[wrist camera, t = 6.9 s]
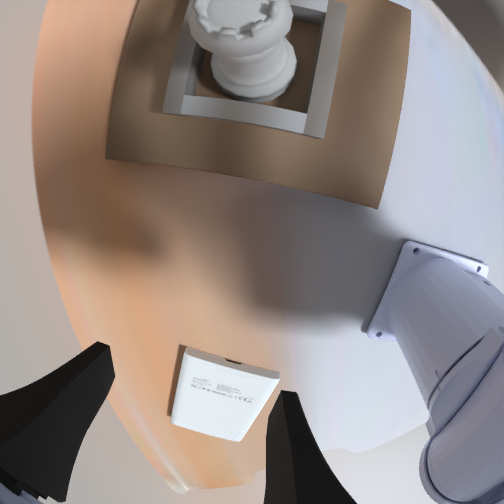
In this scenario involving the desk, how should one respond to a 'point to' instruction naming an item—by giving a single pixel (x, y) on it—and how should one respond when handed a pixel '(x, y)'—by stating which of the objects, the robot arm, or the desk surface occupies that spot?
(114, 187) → the desk surface
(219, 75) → the rook chess piece
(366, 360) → the desk surface
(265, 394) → the external hard drive
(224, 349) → the desk surface
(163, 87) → the socket board
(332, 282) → the desk surface
